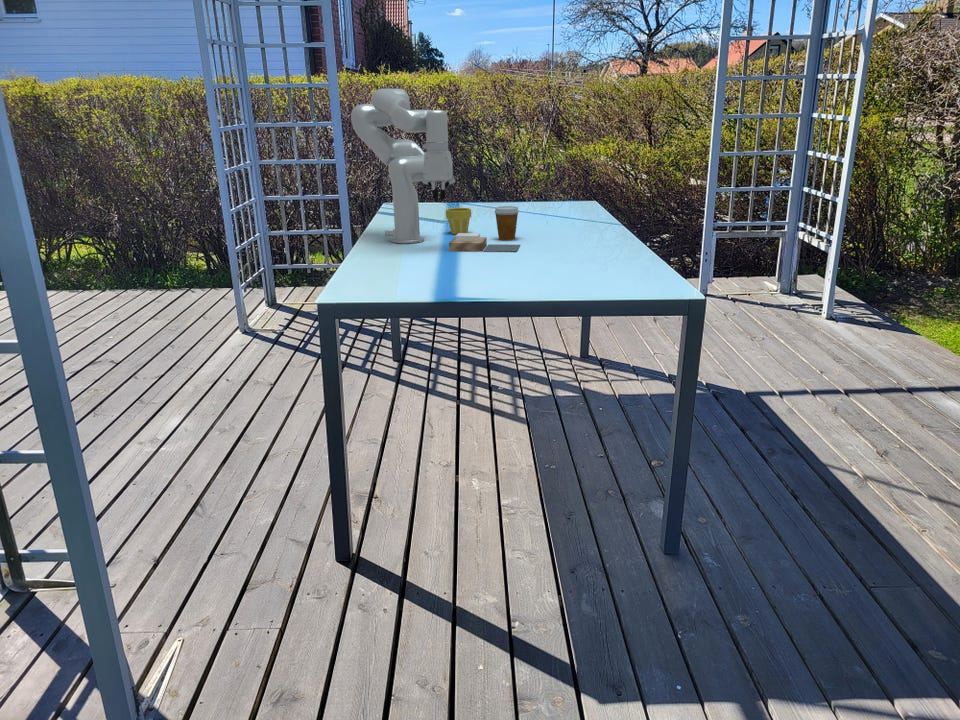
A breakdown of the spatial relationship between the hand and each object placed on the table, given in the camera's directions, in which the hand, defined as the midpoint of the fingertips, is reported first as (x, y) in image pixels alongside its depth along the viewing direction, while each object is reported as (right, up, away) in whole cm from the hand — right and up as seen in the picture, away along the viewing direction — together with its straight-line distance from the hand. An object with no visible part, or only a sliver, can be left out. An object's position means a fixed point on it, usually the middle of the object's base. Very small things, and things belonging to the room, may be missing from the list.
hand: (439, 200), depth 254 cm
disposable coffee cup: (+25, -10, +21) cm, 34 cm away
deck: (+10, -16, +4) cm, 20 cm away
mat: (+23, -17, +3) cm, 28 cm away
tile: (+10, -14, +3) cm, 17 cm away
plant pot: (+6, -5, +36) cm, 37 cm away
